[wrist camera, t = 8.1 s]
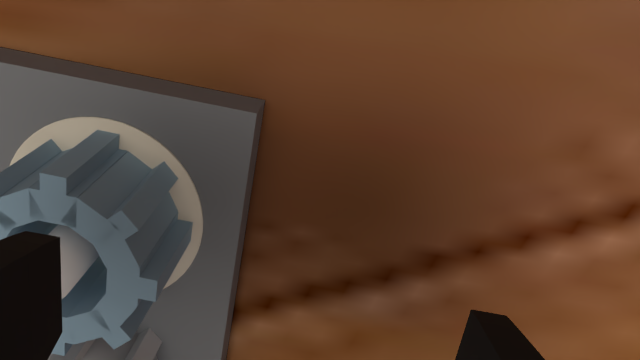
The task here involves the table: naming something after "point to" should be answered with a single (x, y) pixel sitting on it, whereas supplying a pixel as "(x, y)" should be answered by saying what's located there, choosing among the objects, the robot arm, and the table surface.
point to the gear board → (152, 149)
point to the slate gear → (100, 229)
